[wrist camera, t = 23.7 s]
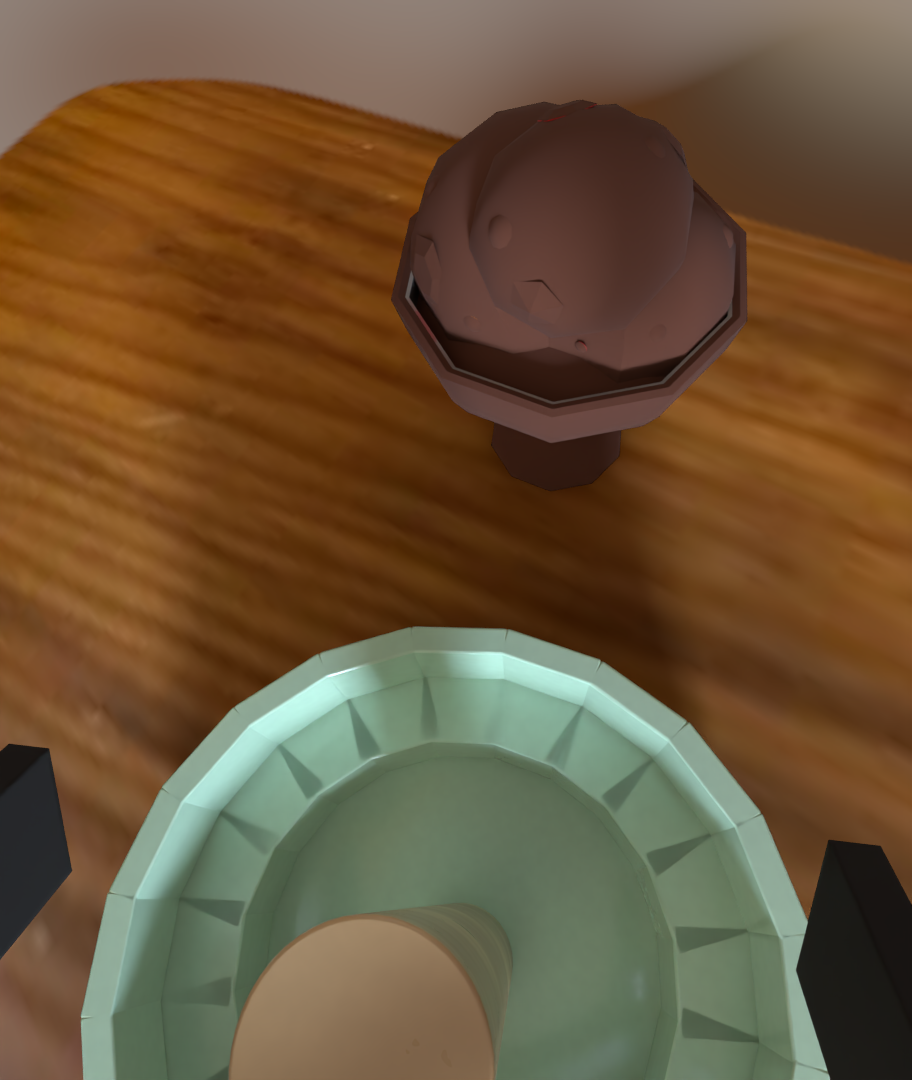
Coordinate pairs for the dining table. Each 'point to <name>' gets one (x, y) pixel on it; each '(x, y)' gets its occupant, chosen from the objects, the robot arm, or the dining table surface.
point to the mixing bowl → (464, 864)
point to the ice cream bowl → (568, 282)
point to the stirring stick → (381, 1000)
